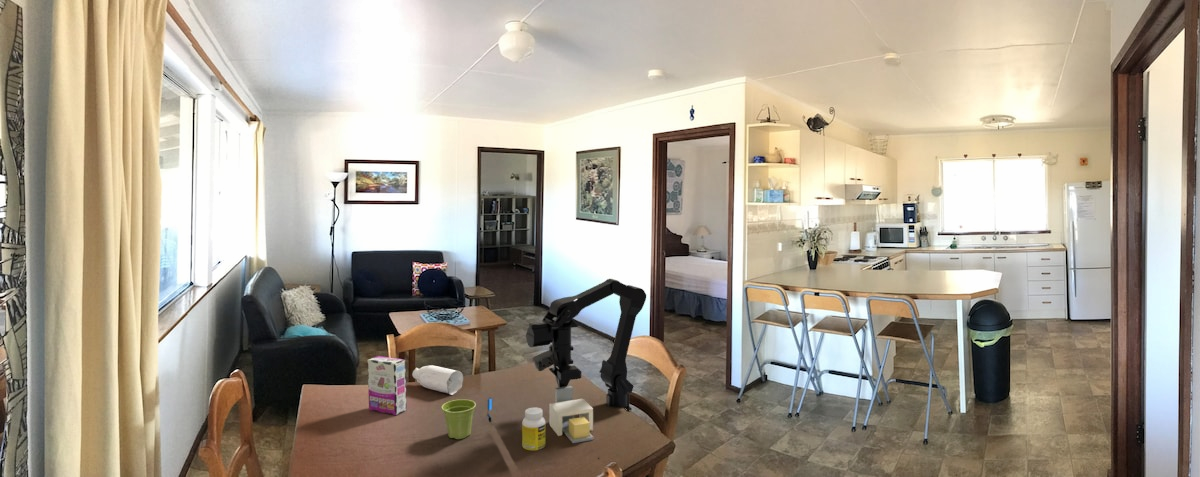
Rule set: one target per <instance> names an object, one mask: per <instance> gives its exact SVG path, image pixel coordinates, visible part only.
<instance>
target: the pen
mask: <svg viewBox="0 0 1200 477" xmlns="http://www.w3.org/2000/svg"><path fill="white" fill-rule="evenodd" d="M492 407H493V406H492V398H491V397H489V399H488V411H492ZM487 421H488V422H489V423H490V422H491V421H492V417H491V416H490V414H489V413H488V418H487Z"/></svg>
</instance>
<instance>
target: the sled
mask: <svg viewBox="0 0 1200 477" xmlns="http://www.w3.org/2000/svg"><path fill="white" fill-rule="evenodd" d="M554 389H555V390H554V392H555V393H554V394H555V395H554V403H556V402H563V401H570V400H574V387H573V386H572V385H567V386H566V387H559V388H558V387H554ZM572 418H575V417H574V415H570V416H564V417H562V433H564V434H565V436H566V437H567V439H569V441H570V442H571V443H572V444H577V443H581V442H582V443H583V442H588V441H593V440H594V435H592V434H591V433H590V437H584V438H578V439H573V438H572V437H571V435H570V434H569V419H572Z"/></svg>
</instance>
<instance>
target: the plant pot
mask: <svg viewBox="0 0 1200 477" xmlns="http://www.w3.org/2000/svg"><path fill="white" fill-rule="evenodd" d="M476 406H477V404H476V402H475V401H474V400H473V399H472V400H471V399H454V400H449V401H447V402H444V403H443V404H442V405H441V410H442V412H443V414H444V416H445V418H444V419H445V423H446V428H447V435H448V438H450V439H456V440H462V439H466V438H468V437H469V435H471V434H472V424H473V417H474V411H475V408H476Z"/></svg>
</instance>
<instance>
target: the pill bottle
mask: <svg viewBox="0 0 1200 477" xmlns="http://www.w3.org/2000/svg"><path fill="white" fill-rule="evenodd" d="M543 415H544V413H543V408H540V407H529V408H526V409H525V410H524V418H523V420H522V421H521V426H522V427H521V435H522V436H521V437H522V438H521V439H522V440H521V446H522V448H523V449H524V450H526V451H531V452H533V451H539V450H543V449H544V448H545V447H546V419H545V418H544V417H543Z"/></svg>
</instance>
